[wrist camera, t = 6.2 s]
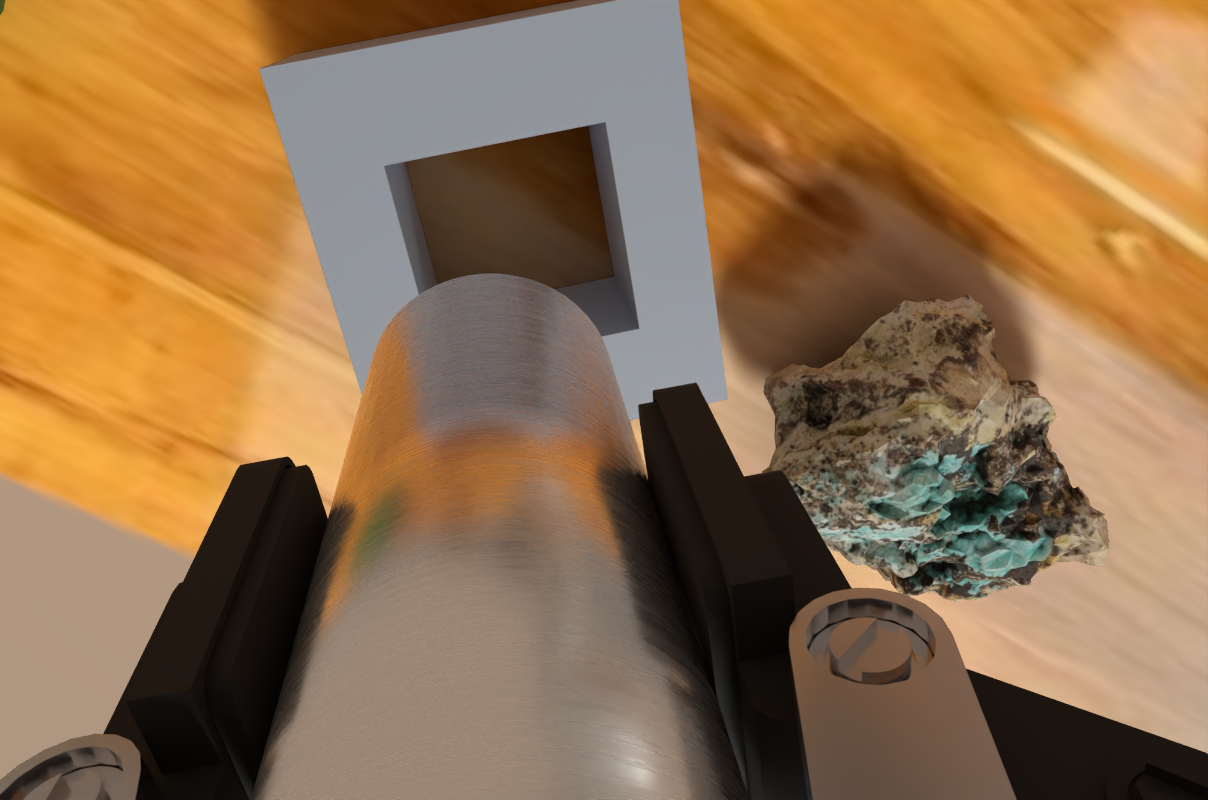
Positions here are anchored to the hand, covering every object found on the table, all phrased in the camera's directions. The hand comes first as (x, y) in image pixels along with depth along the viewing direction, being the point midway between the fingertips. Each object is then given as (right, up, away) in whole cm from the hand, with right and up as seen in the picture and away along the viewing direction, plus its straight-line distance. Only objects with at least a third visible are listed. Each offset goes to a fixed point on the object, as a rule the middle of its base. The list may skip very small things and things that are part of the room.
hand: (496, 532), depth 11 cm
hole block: (-2, +8, +17) cm, 19 cm away
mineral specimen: (+13, 0, +23) cm, 26 cm away
